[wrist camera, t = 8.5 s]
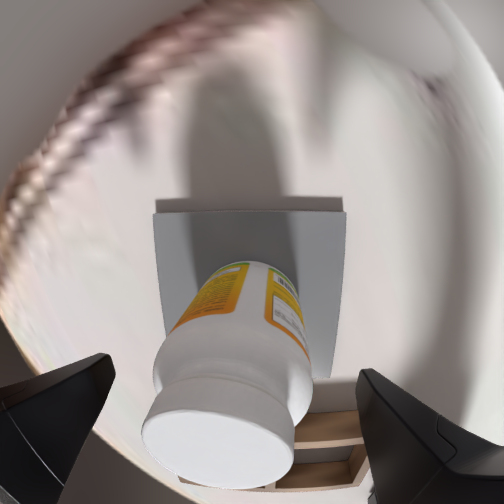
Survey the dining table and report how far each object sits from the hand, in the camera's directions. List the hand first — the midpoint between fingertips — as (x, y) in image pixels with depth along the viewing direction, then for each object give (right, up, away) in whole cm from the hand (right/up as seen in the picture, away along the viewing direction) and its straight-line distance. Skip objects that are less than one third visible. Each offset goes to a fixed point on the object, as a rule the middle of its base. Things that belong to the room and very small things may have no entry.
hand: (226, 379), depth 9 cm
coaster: (+1, +2, +7) cm, 7 cm away
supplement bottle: (+1, +1, +6) cm, 7 cm away
